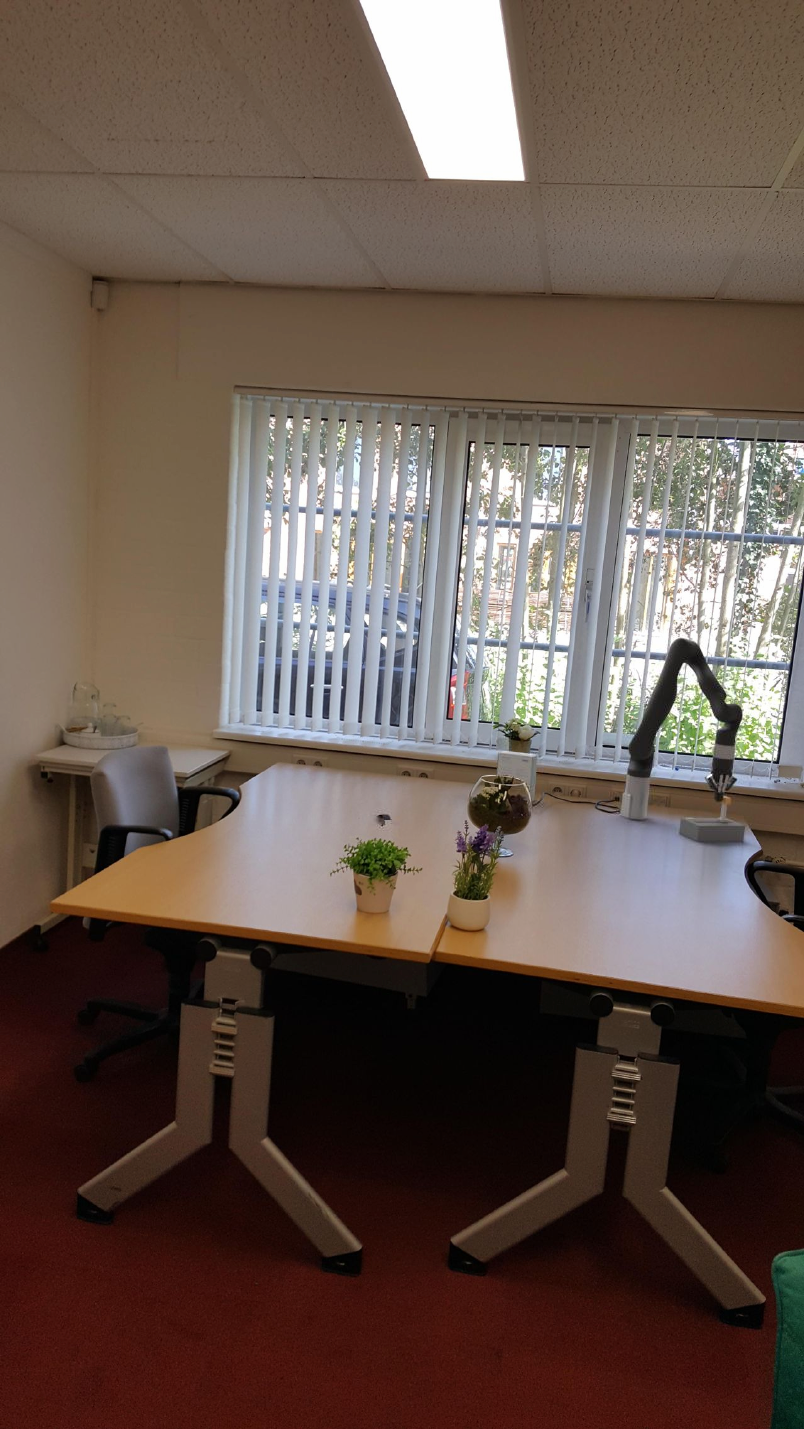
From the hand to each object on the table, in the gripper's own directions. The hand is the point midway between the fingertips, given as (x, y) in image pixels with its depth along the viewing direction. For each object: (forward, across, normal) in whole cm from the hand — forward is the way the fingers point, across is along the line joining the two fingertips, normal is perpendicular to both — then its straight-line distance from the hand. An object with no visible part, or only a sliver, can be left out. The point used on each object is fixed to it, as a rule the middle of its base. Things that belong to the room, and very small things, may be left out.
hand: (718, 801), depth 364 cm
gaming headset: (+15, -124, +22) cm, 126 cm away
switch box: (+14, -1, 0) cm, 14 cm away
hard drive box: (+14, -57, +61) cm, 84 cm away
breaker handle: (+8, +3, 0) cm, 8 cm away
